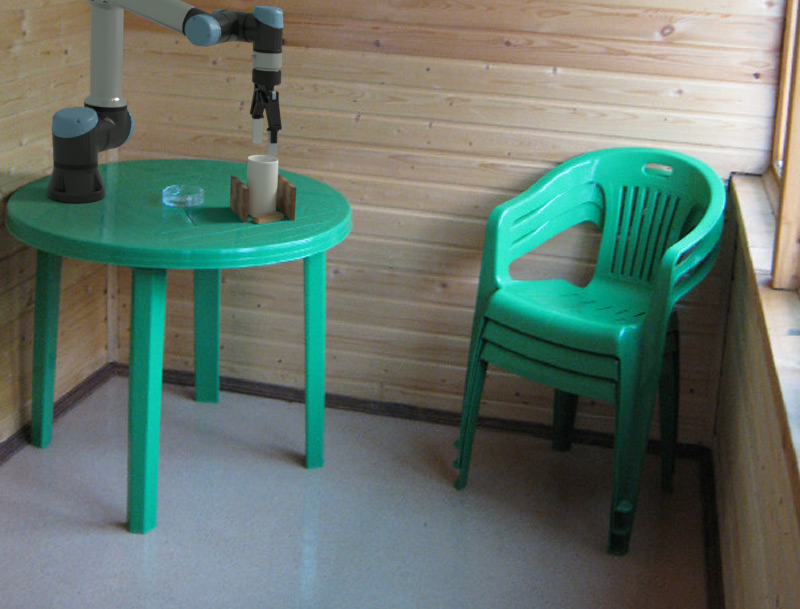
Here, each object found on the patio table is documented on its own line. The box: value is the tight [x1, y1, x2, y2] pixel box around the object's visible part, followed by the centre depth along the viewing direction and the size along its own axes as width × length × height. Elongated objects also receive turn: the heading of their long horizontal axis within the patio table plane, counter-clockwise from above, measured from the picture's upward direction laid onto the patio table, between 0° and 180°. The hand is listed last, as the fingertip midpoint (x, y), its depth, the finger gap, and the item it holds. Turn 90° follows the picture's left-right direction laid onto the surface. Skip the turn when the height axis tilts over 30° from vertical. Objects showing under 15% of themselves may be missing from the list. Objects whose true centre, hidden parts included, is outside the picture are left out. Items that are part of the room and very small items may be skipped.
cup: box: [246, 154, 279, 217], centre depth 284 cm, size 8×8×16 cm
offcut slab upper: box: [251, 211, 285, 225], centre depth 281 cm, size 3×9×2 cm, turn 137°
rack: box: [229, 173, 297, 224], centre depth 285 cm, size 14×14×10 cm
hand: (264, 149), depth 281 cm, fingers open, 13 cm apart
